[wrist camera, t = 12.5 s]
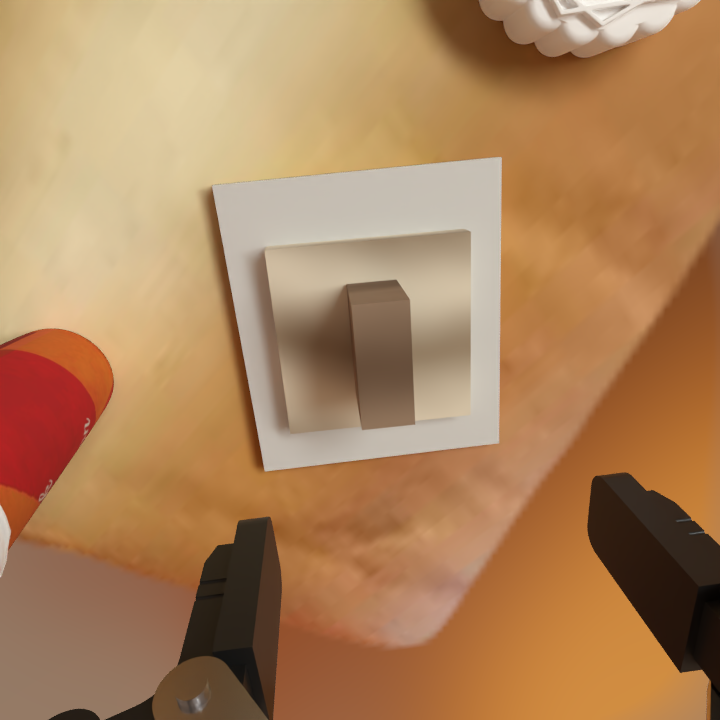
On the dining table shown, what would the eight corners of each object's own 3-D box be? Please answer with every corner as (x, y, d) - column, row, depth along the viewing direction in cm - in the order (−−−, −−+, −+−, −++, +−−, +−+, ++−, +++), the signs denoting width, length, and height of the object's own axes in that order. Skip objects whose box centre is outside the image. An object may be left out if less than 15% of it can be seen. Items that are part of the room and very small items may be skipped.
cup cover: (266, 246, 26) (255, 266, 21) (464, 228, 26) (497, 244, 21) (291, 423, 29) (286, 475, 25) (464, 405, 30) (493, 452, 25)
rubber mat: (214, 184, 25) (211, 185, 25) (496, 157, 26) (501, 156, 25) (266, 464, 31) (264, 471, 30) (494, 436, 32) (498, 443, 31)
